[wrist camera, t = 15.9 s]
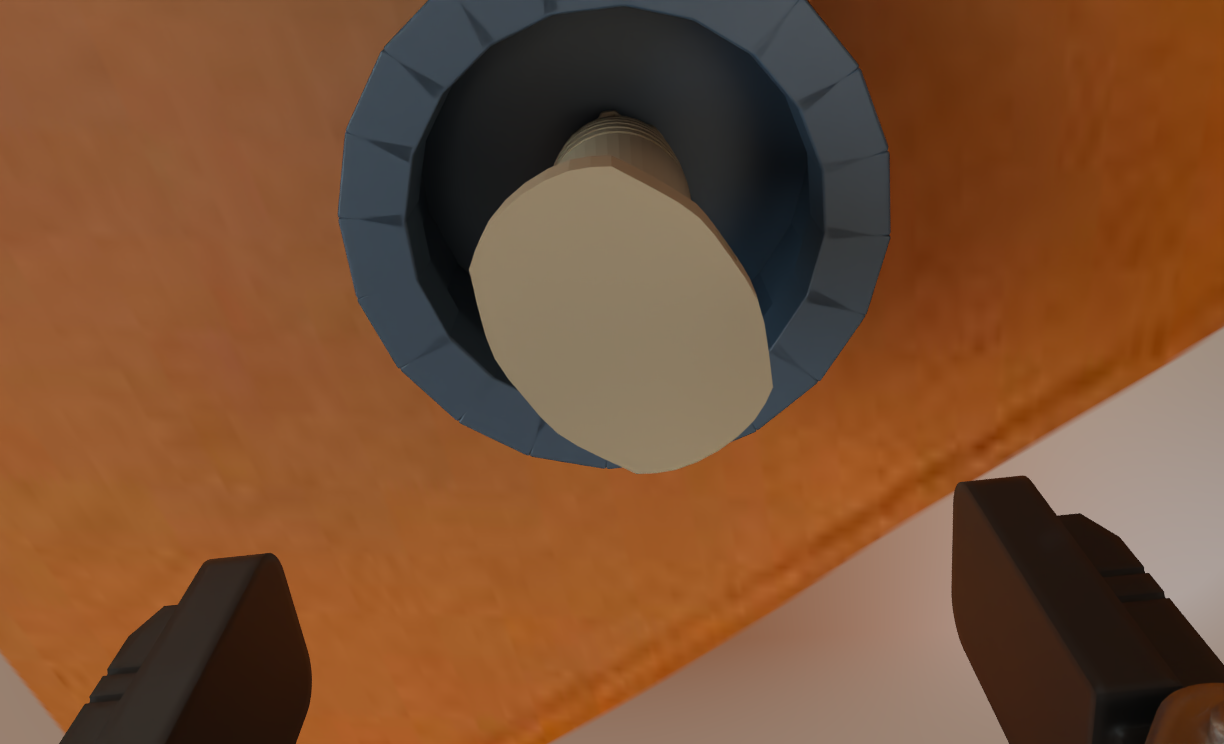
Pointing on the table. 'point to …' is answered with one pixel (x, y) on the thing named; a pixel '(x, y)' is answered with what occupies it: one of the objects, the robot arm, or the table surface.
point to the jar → (559, 106)
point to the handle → (622, 304)
